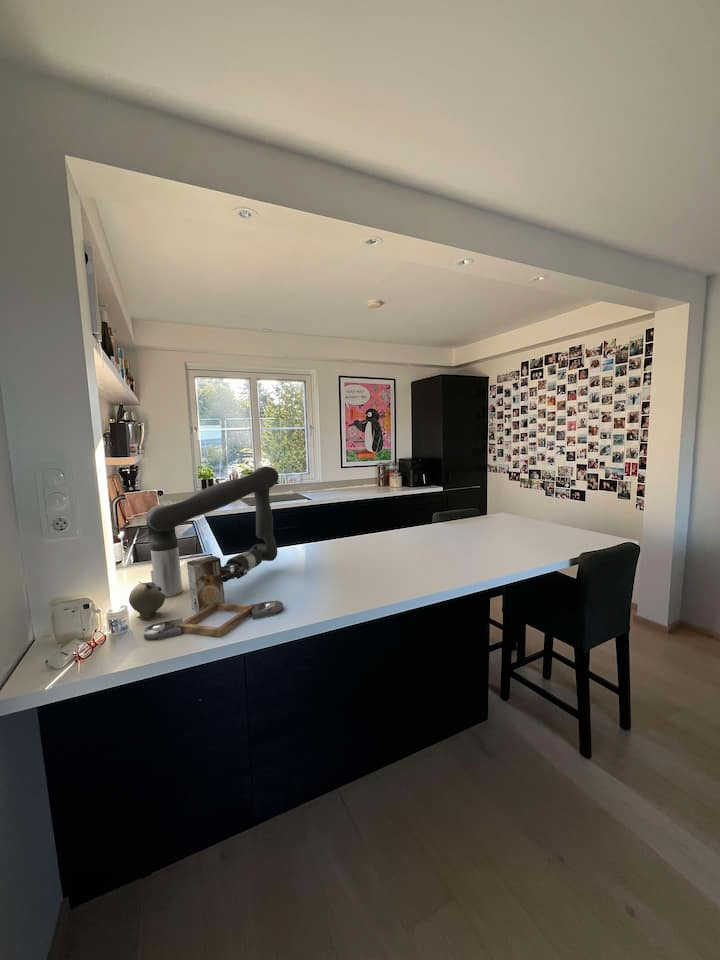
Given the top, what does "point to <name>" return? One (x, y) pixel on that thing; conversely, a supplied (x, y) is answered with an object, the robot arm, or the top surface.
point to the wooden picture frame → (190, 628)
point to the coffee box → (205, 582)
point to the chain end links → (171, 627)
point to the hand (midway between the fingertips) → (212, 578)
